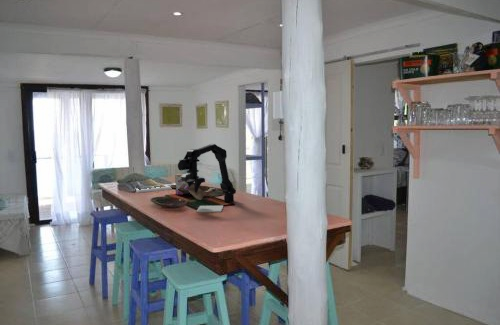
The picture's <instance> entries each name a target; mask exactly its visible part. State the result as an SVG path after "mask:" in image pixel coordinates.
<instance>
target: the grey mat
mask: <svg viewBox="0 0 500 325" xmlns="http://www.w3.org/2000/svg"><path fill="white" fill-rule="evenodd" d="M223 208H224V205H199V206H198V208H197V209H196V213H221V212H222V211H223Z"/></svg>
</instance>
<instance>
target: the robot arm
mask: <svg viewBox="0 0 500 325" xmlns="http://www.w3.org/2000/svg"><path fill="white" fill-rule="evenodd" d="M209 152H211V153H213V154H214V157H215V159H216V161H217V162H218V165H219V172H220V175H221V182H220V183H219V186H220V189H221V190H222V194H224V195H223V198H224V199H223V201H224V203H234V202H235V196H234V195H235V194H236V193H237V190H236V189H235V187H234V186H233V183H232V181H231V180H230V178H229V177H230V176H229V172H228V167H227V161H226V159H227V156H228V155H227V150H226V149H225V148H222V147H220V146H218V145H217V144H216V143H210V144H207V145H205V146H203V147H202V146H201V147H199V148H195V149H193V148H192V149H188V150H187V151H186V154H185V155H184V157H183V159H179V161H178V163H177V168H178V170H179V171H186V173H183V174H184V175H182V176H181V179H182V181H185V182H186V183H187V184H188V186H189V187H190V186H191V184H194V187H195V193H197V191H198V189H199V188H200V186H201V185H202V183H206V178H205V177H200V176H199V175H198V172H199V169H198V162H200V159H199V157H201V155H203V154H206V153H209Z"/></svg>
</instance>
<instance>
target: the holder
mask: <svg viewBox="0 0 500 325" xmlns="http://www.w3.org/2000/svg"><path fill="white" fill-rule="evenodd" d="M163 185H164V186H165V187H161V188H160V187H156V188H151V189H149V188H147V189H141V190H139V189H138V188H135V189H136V192H135V193H137V194H140V193H149V192H151V193H152V192H157V191H159V192H160V191H167V190H168V191H169V190H173V189H172V188H171V187H170V186H171V185H176V182H174V183H169V184H163Z"/></svg>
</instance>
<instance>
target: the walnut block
mask: <svg viewBox="0 0 500 325" xmlns="http://www.w3.org/2000/svg"><path fill="white" fill-rule="evenodd" d="M188 191H189V192H190V194H191V195H192V196H193V198H194V199H196V200H200V201H201V200H202V199H203V198H204V196H205V194H206V193H205V192H204V191H203V190H202V189H201V188H200V187H199V189H198V191H197V193H195V187H194V184H191V186H190V187H189V189H188Z"/></svg>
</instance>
